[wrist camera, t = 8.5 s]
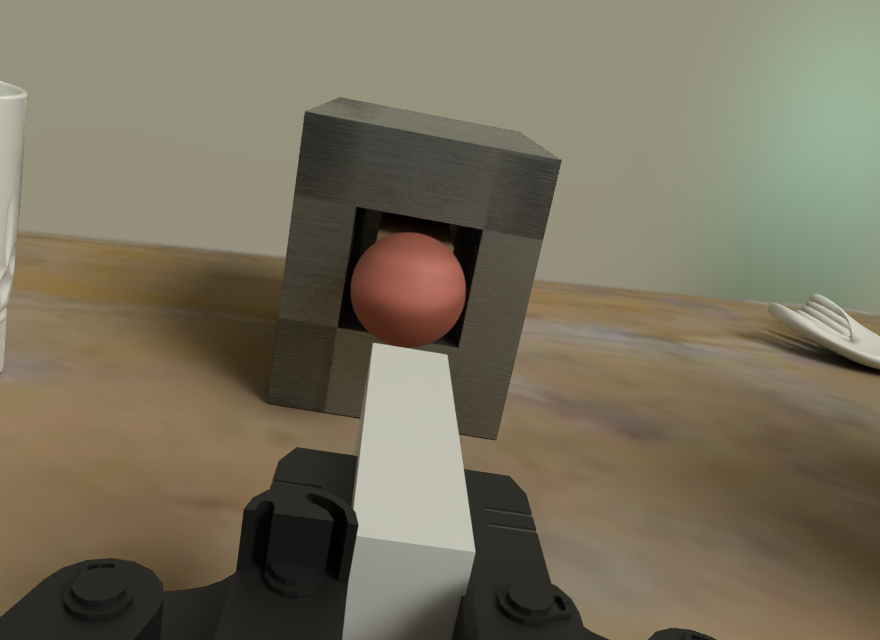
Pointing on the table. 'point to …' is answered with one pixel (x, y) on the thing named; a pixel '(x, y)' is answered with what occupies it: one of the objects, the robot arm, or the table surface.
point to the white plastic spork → (831, 329)
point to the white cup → (10, 189)
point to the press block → (417, 195)
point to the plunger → (409, 282)
